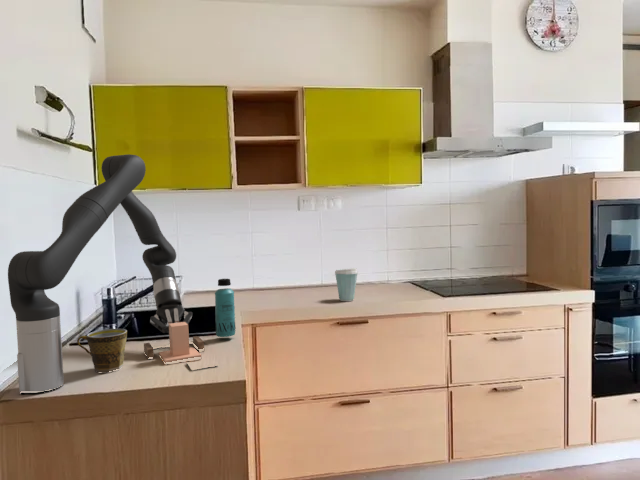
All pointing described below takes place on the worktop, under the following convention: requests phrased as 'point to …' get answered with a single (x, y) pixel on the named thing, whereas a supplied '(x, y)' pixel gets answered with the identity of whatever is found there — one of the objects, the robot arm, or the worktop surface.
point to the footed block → (179, 344)
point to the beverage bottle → (224, 310)
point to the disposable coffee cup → (346, 283)
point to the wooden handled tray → (149, 352)
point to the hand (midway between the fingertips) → (176, 342)
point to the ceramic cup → (106, 348)
